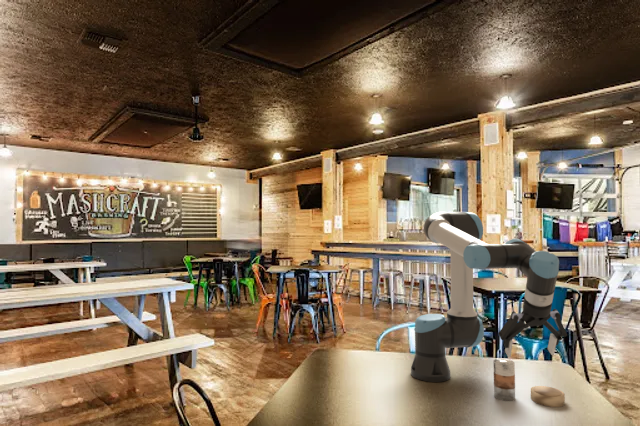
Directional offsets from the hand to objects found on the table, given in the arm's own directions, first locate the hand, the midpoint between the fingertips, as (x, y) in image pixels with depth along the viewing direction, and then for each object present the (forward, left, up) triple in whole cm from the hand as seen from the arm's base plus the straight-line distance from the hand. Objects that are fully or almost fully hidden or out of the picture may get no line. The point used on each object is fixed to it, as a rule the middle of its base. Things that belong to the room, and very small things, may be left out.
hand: (529, 353), depth 134 cm
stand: (+3, +10, -17) cm, 20 cm away
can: (-9, +4, -17) cm, 20 cm away
